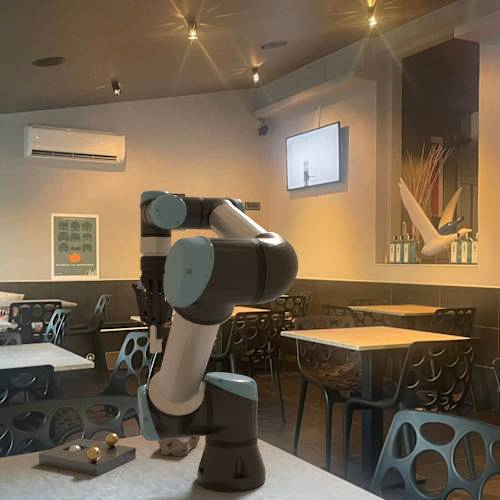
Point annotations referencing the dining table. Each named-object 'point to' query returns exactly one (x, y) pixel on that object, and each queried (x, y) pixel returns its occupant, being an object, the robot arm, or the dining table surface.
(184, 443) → the stone
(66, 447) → the plate
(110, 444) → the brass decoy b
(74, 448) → the steel ball
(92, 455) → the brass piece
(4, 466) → the dining table surface
